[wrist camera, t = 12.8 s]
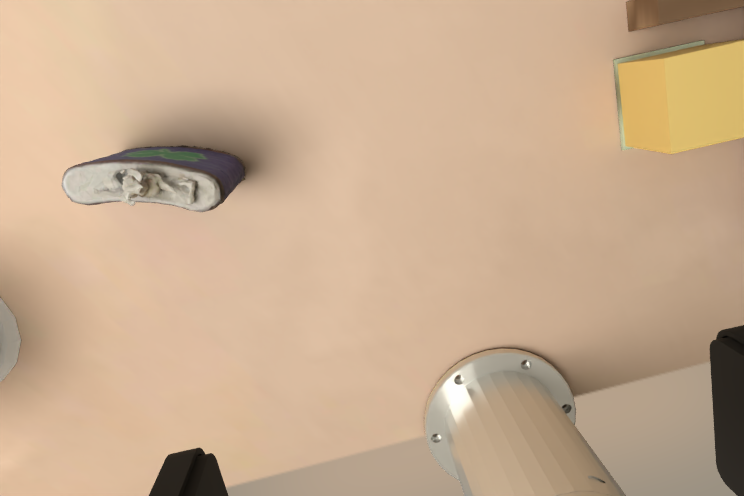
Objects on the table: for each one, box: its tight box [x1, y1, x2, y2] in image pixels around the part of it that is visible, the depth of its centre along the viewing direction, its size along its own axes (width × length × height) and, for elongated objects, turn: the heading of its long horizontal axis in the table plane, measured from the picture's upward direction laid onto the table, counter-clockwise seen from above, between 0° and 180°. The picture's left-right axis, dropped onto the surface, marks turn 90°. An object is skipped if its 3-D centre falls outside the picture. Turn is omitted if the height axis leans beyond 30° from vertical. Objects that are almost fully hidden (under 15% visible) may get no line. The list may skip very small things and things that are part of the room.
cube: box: [618, 39, 744, 154], centre depth 39 cm, size 6×6×6 cm
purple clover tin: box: [62, 146, 245, 212], centre depth 36 cm, size 9×3×11 cm, turn 86°
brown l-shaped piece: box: [613, 0, 744, 150], centre depth 41 cm, size 18×12×4 cm
